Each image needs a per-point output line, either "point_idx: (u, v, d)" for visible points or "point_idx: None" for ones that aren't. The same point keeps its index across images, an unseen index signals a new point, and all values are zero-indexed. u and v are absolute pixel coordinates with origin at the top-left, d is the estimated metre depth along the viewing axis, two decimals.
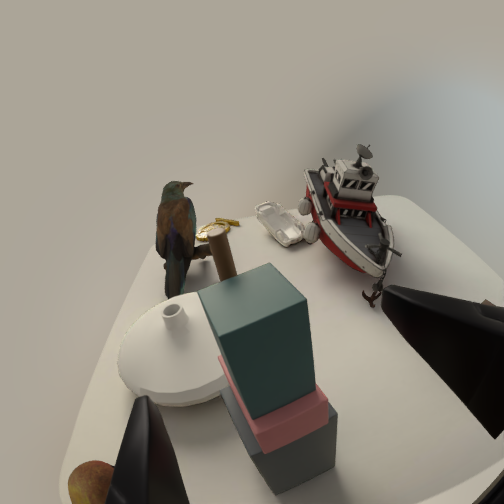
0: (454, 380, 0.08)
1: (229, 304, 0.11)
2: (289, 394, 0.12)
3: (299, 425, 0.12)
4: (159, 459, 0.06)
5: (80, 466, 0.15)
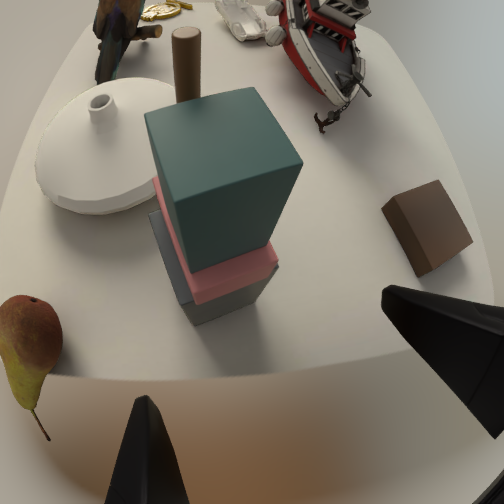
0: (454, 380, 0.08)
1: (191, 145, 0.07)
2: (238, 250, 0.11)
3: (240, 281, 0.13)
4: (159, 459, 0.06)
5: (1, 308, 0.15)
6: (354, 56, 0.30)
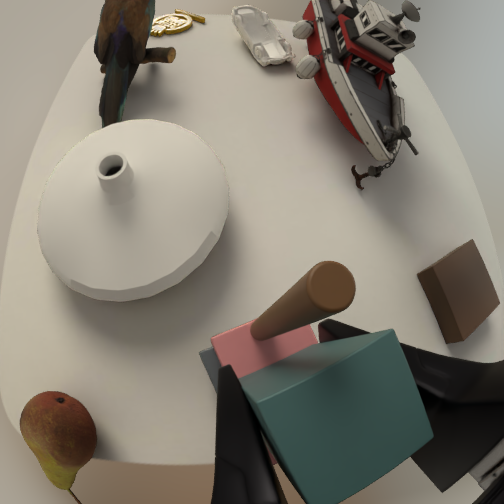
0: None
1: (329, 450, 0.05)
2: None
3: None
4: (256, 424, 0.07)
5: (28, 412, 0.13)
6: (391, 93, 0.27)
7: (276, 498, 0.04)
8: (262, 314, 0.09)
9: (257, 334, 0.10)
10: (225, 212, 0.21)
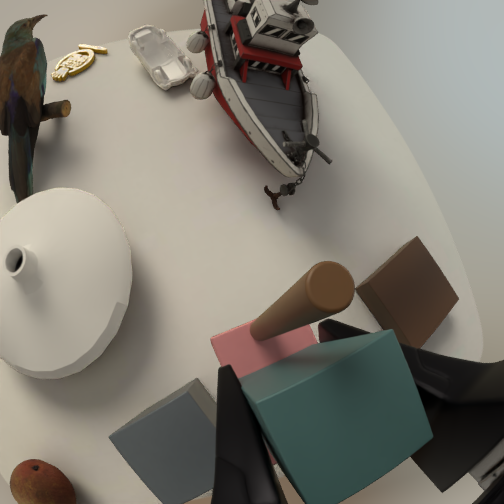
0: None
1: (329, 451, 0.05)
2: None
3: None
4: (256, 424, 0.07)
5: (13, 482, 0.11)
6: (302, 90, 0.27)
7: (276, 498, 0.04)
8: (261, 314, 0.09)
9: (256, 334, 0.10)
10: (129, 277, 0.20)
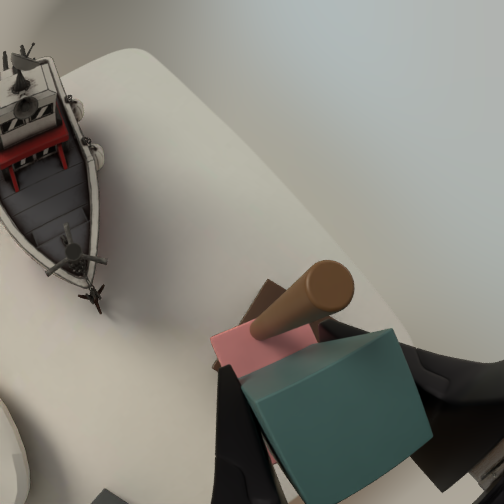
0: None
1: (329, 450, 0.05)
2: None
3: None
4: (256, 424, 0.07)
5: None
6: (84, 158, 0.21)
7: (276, 498, 0.04)
8: (261, 314, 0.09)
9: (256, 334, 0.10)
10: (10, 430, 0.14)
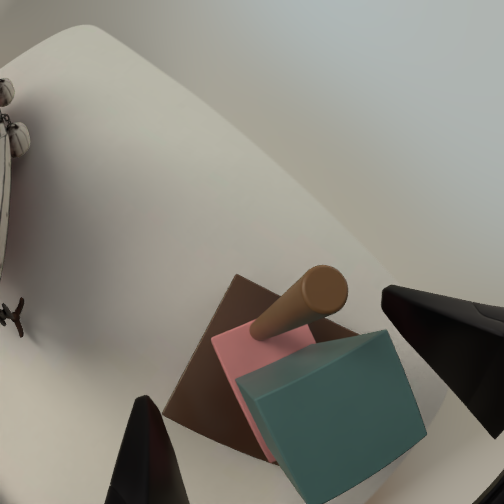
0: (454, 380, 0.08)
1: (325, 446, 0.05)
2: None
3: None
4: (159, 459, 0.06)
5: None
6: None
7: None
8: (261, 315, 0.09)
9: (256, 334, 0.10)
10: None
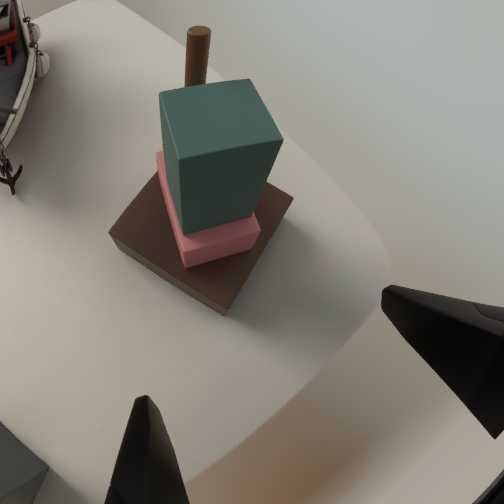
0: (454, 380, 0.08)
1: (195, 119, 0.08)
2: (226, 217, 0.13)
3: (225, 248, 0.14)
4: (159, 459, 0.06)
5: None
6: (28, 56, 0.16)
7: None
8: None
9: None
10: None
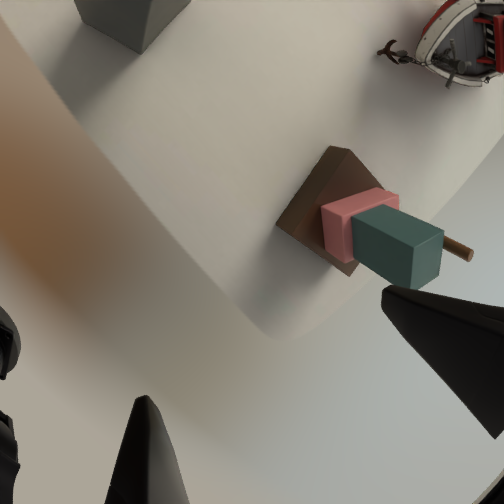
0: (454, 380, 0.08)
1: (427, 252, 0.15)
2: (359, 245, 0.19)
3: (334, 238, 0.21)
4: (159, 459, 0.06)
5: None
6: (479, 76, 0.20)
7: None
8: None
9: None
10: None
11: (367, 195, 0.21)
